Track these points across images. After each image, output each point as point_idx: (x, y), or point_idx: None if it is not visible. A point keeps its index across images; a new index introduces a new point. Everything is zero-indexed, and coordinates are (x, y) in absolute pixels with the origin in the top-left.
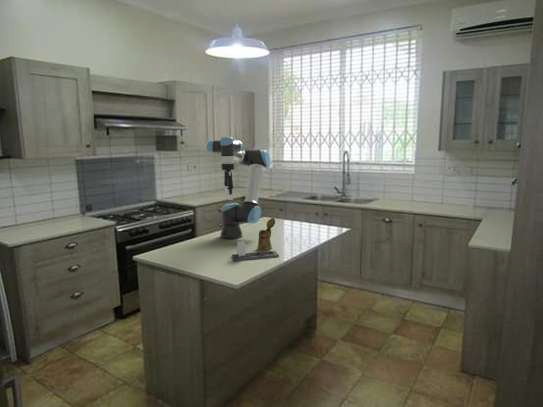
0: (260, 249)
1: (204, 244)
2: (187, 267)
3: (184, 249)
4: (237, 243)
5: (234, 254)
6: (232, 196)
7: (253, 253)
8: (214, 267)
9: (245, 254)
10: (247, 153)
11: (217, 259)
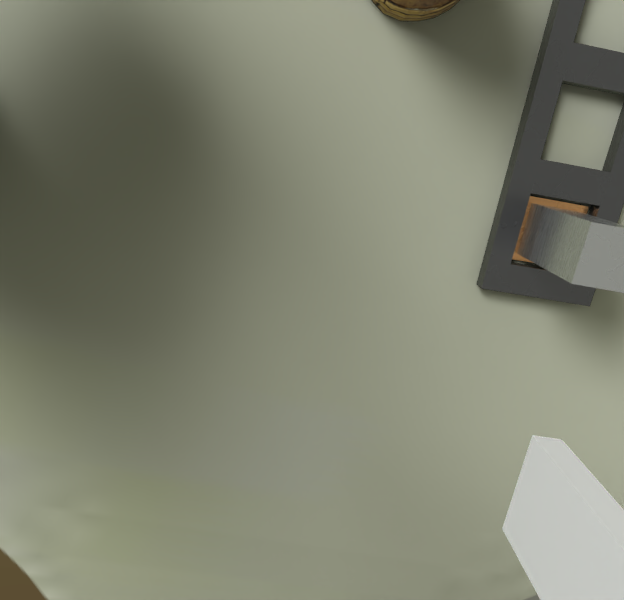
0: (449, 9)
1: (63, 374)
2: None
3: (145, 519)
4: (595, 286)
5: (492, 269)
6: (603, 500)
7: (549, 125)
8: (621, 439)
9: (539, 194)
10: None
11: (484, 385)
